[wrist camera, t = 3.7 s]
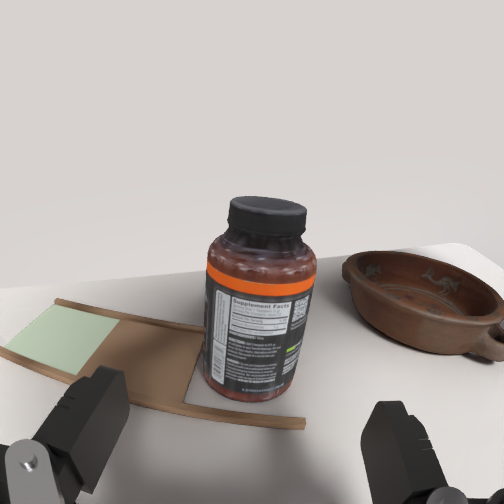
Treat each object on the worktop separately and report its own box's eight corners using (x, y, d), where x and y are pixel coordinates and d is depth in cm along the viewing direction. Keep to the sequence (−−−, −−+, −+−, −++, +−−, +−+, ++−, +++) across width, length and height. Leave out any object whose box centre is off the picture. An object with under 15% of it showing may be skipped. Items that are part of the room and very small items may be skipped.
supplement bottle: (217, 342, 23) (230, 188, 20) (296, 359, 22) (326, 203, 19) (187, 392, 18) (193, 202, 14) (285, 416, 17) (327, 222, 13)
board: (296, 344, 24) (297, 338, 24) (304, 429, 16) (305, 424, 16) (57, 302, 25) (57, 297, 25) (-2, 355, 16) (-4, 349, 16)
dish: (381, 272, 43) (389, 238, 41) (516, 338, 26) (532, 299, 24) (289, 294, 33) (296, 249, 32) (476, 412, 16) (508, 356, 15)
